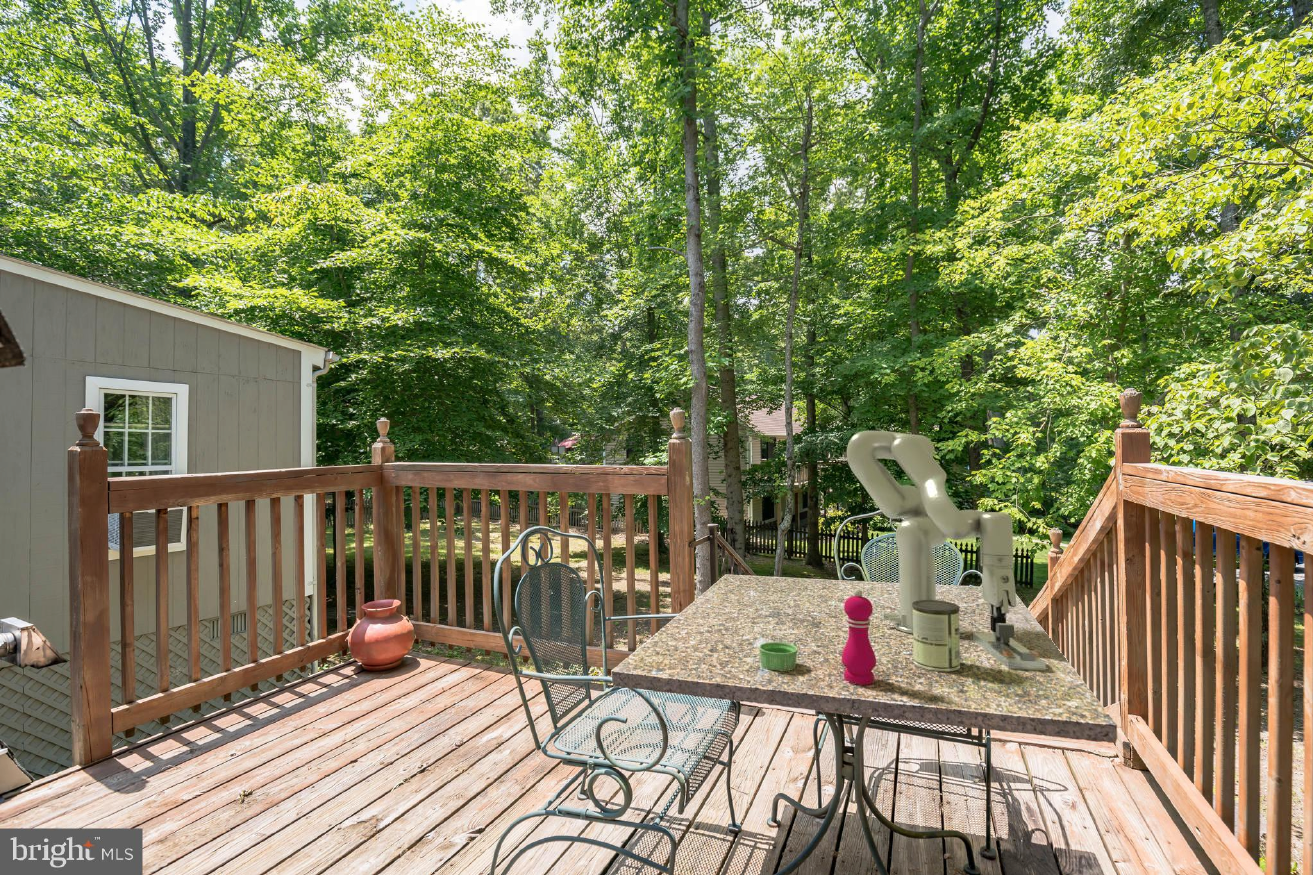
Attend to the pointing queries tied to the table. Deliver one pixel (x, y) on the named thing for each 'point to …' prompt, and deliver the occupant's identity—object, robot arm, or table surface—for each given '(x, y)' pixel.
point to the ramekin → (778, 655)
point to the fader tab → (1005, 632)
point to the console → (1009, 652)
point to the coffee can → (936, 635)
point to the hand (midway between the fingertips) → (998, 631)
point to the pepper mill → (858, 641)
